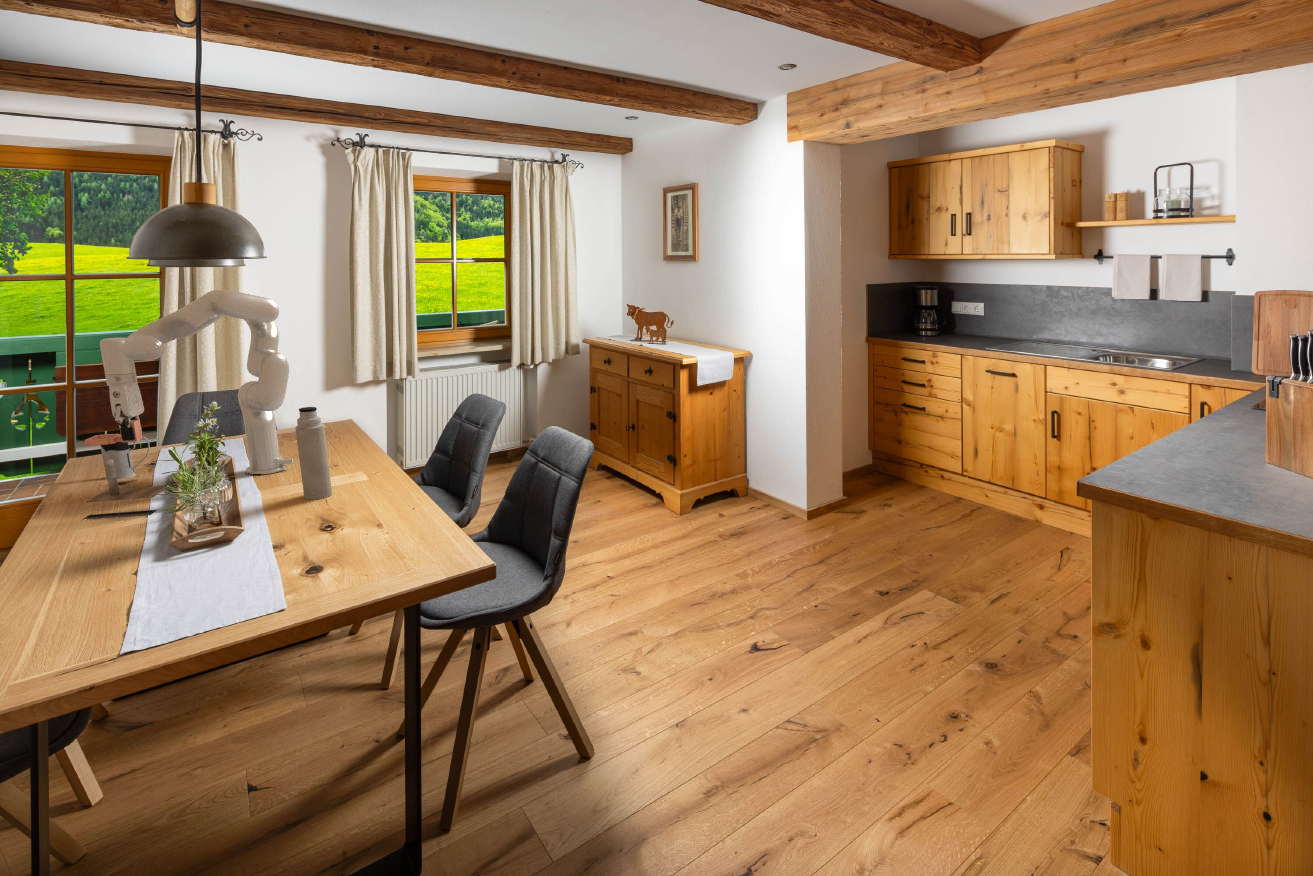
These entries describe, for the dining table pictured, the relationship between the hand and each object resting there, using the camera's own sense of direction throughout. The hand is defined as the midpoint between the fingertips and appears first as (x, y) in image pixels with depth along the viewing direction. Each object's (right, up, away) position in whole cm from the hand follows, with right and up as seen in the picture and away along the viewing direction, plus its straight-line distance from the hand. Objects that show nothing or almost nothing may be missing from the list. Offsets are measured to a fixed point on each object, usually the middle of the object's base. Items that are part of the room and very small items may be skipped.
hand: (132, 437), depth 225 cm
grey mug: (-21, -14, +28) cm, 38 cm away
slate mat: (+4, -22, -8) cm, 23 cm away
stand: (-4, -19, +4) cm, 20 cm away
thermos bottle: (+55, -18, +5) cm, 58 cm away
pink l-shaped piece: (-4, -1, -1) cm, 5 cm away
